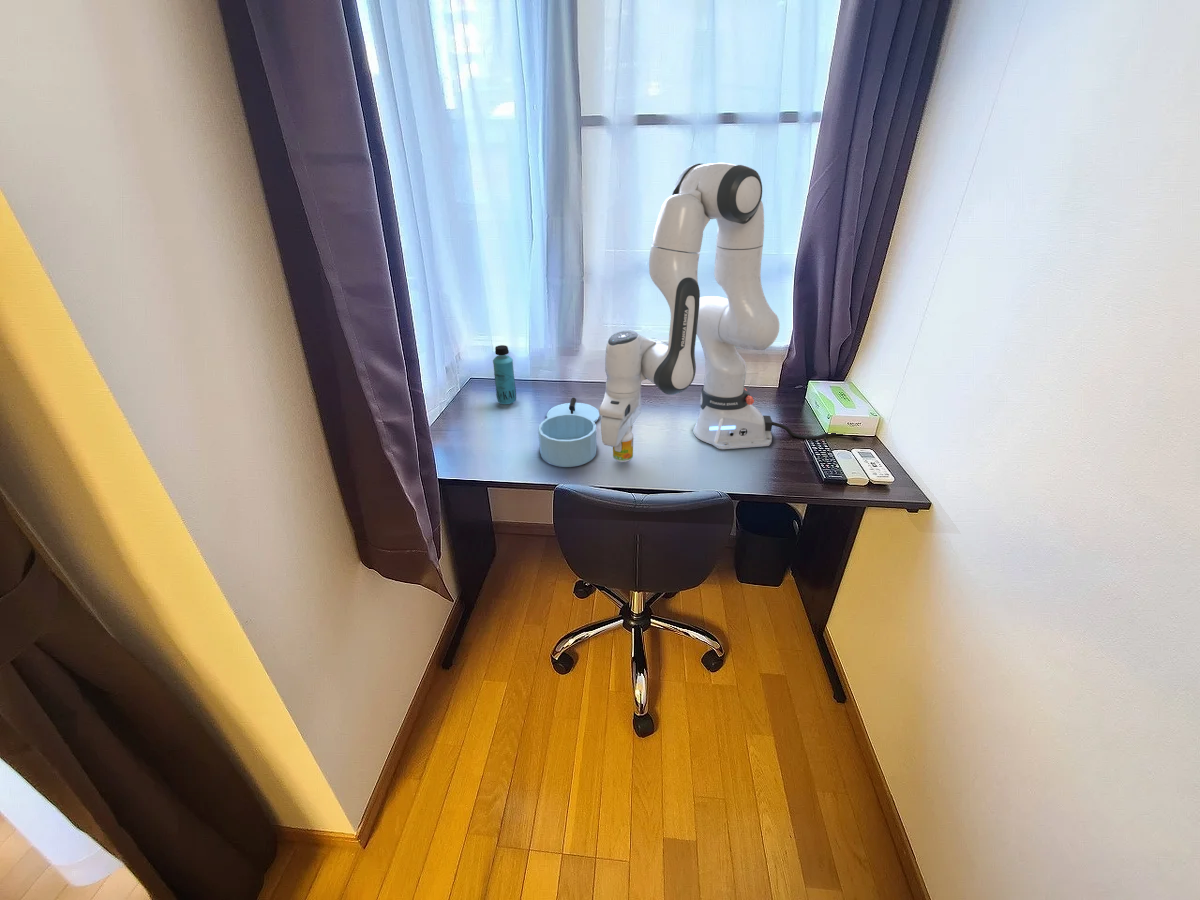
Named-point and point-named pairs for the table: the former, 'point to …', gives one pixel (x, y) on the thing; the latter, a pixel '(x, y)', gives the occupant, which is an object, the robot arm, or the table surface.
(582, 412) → the lid
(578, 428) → the pot
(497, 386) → the beverage bottle
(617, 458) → the supplement bottle
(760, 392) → the table surface
